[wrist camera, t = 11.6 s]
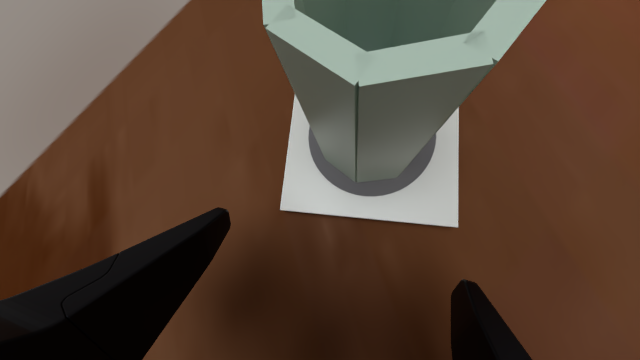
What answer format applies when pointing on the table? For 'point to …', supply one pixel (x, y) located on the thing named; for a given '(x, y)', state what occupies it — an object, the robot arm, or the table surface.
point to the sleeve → (387, 70)
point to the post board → (374, 196)
